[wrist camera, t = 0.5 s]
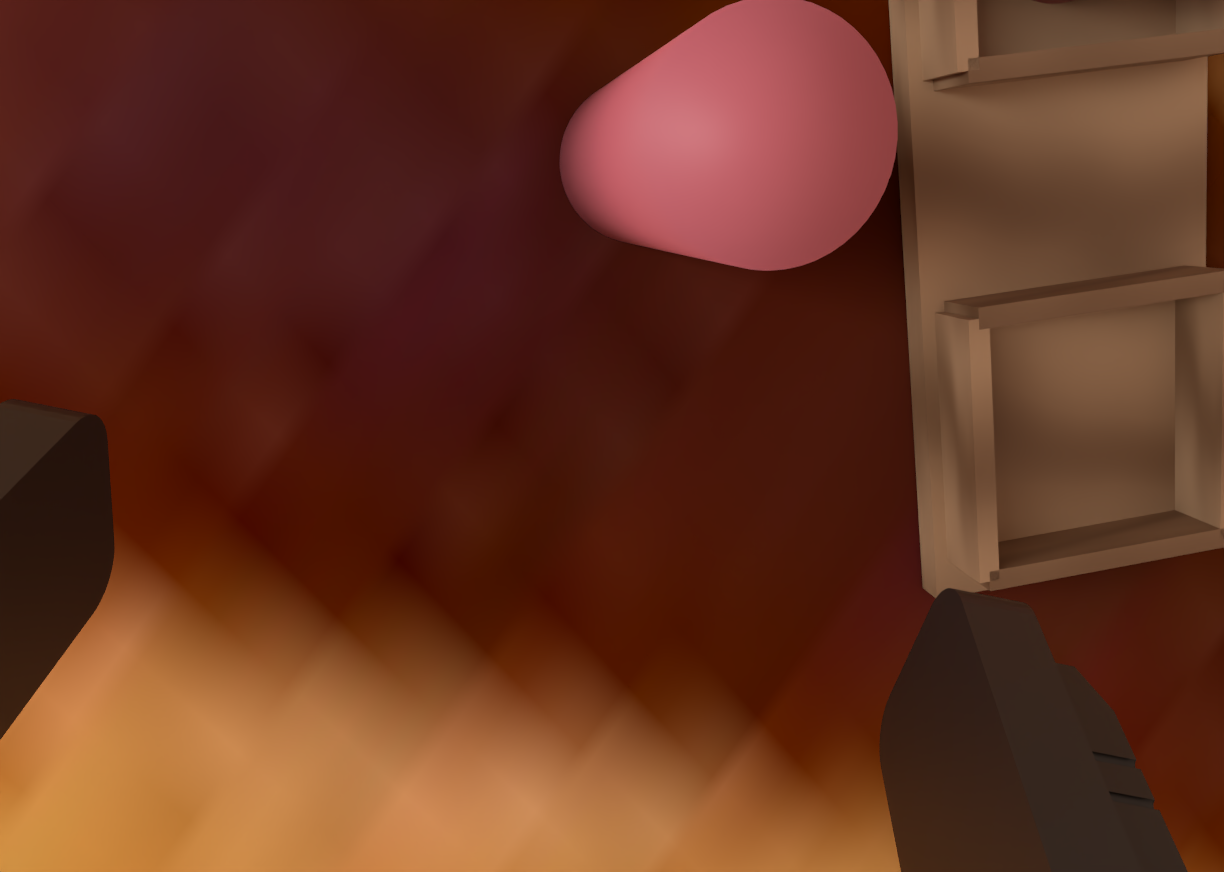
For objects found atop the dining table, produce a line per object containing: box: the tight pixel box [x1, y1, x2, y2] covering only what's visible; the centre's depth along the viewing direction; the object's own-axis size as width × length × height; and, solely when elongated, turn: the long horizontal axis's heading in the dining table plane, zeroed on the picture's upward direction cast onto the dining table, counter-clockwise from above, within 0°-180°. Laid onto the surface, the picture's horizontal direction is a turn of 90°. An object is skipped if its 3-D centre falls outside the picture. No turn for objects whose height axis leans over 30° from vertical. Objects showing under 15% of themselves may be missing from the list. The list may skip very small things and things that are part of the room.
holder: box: [889, 0, 1224, 598], centre depth 30 cm, size 24×9×3 cm, turn 7°
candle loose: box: [560, 0, 898, 271], centre depth 23 cm, size 4×4×12 cm
